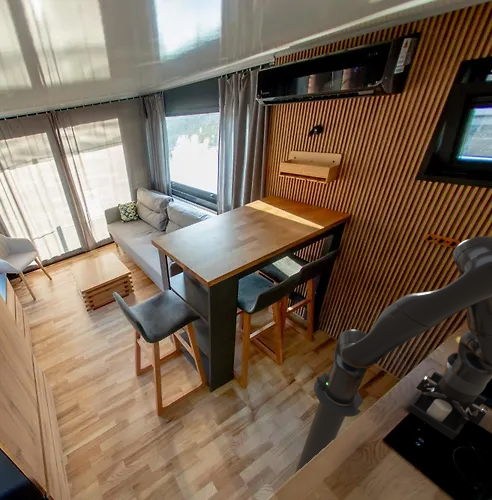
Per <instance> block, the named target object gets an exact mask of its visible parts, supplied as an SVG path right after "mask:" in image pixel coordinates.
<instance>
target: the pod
mask: <svg viewBox="0 0 492 500" xmlns="http://www.w3.org/2000/svg"><path fill="white" fill-rule="evenodd" d="M451 411H452V407H451V405H450V404H448V403H447V402H446V401H444V400H441V399H436V400H435V401H434V402H433V403H432V405H431V406H430V407H429V409H428V410H427V411H426V413H427V414H429V415H430V416H432V417H434V418H435V419H437V420H438V421H440V422H442V421H443V420H444V419H445V418H446V417H447V415H448V414H449V413H450V412H451Z"/></svg>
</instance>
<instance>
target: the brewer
mask: <svg viewBox="0 0 492 500" xmlns="http://www.w3.org/2000/svg"><path fill="white" fill-rule="evenodd" d="M421 394H422V391H421V390H420V392H419V393H418V394H417V396H416V397H415V398H414V399H413V400H412V402H411V403H410V404H409V406H408V407H407V408H406V410H407V411H408V413H409V412H410V413H411V414H412V415H414V416H415V417H417V418H418V419H420V420H421V421H423V422H424V423H426V424H427V425H429V426H431V427H432V428H434V429H435V430H436V431H438V432H440V433H441V434H442V435H444V436H446V437H447V438H449V439H450V440H451V441H453V440H454V439H455V438H457V436H458V435H459V434H460V433H461V430H462V429H463V428H464V426H465V424H464V425H463V424H458V423H457V421H458V420H459V419H460V417H461V416H462V414H461V413H459V411H458V409H457V408H456V406H452V405H451V404H450V405H451V407H452V411H451V412H450V413H449V414H448V415H447V417H446V418H445V419H444V420H443V421H442V422H440V421H438V420H437V419H435V418H434V417H432V416H430V415H429V414H427V413H426V411H427V410H428V409H429V407H430V406H431V405H432V403H433V402H434V401H435V400H436V399H440V397H432V396H428V397H427V399H426V400H425V401H424V402H423V401H421V400H422V399H420V396H421ZM441 400H442V399H441ZM447 403H448V402H447ZM448 404H449V403H448Z"/></svg>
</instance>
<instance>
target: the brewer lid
mask: <svg viewBox="0 0 492 500" xmlns="http://www.w3.org/2000/svg"><path fill="white" fill-rule="evenodd" d="M442 377H443V375H441V373H439V372H437V371H433V373H432V374H431V376H430V378H431V379H430V380H432V381H434V382H436V383H438V382H439V381H440V380H441V378H442ZM424 387H425V388H434V386H433V385H425V386H424ZM486 401H487V398H486V397H484V396H483V395H481V394H479V396H478V397H477V398H476V399H475V400H474V401H473V402H474V404H475V405H477V406H479V407H481V406H482V405H483V404H484V403H485V402H486ZM469 410H470V412H471V413H472V414H474V412H475V411H474V408H469Z"/></svg>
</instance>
